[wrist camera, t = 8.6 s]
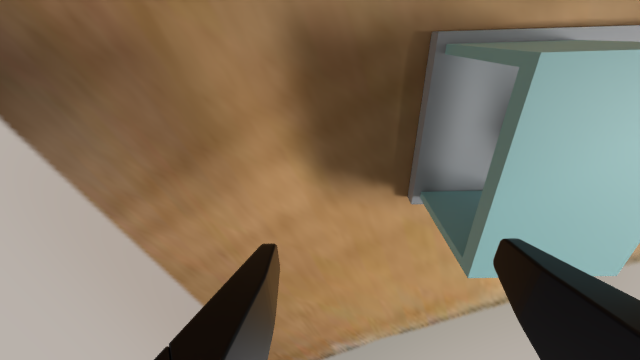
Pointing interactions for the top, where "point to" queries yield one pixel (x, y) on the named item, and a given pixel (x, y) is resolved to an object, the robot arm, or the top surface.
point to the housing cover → (555, 159)
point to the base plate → (474, 105)
